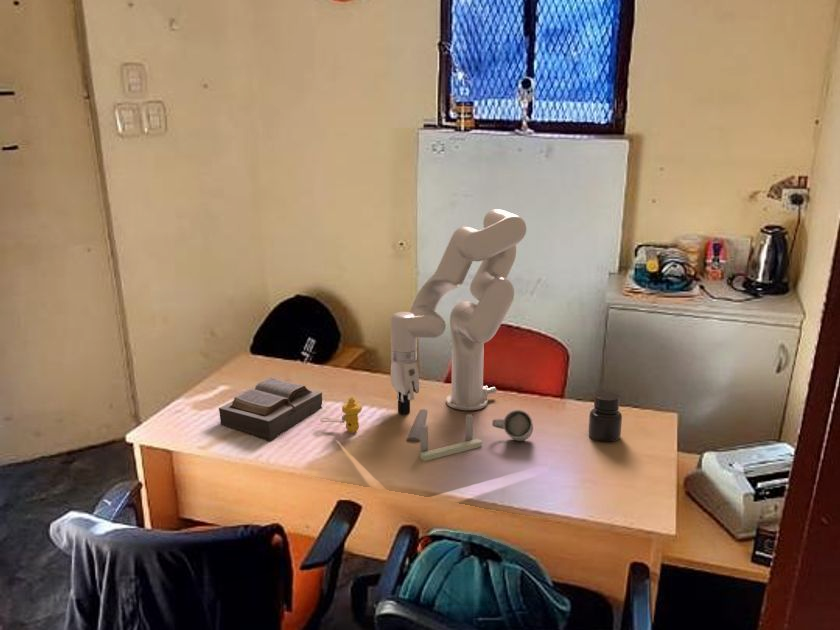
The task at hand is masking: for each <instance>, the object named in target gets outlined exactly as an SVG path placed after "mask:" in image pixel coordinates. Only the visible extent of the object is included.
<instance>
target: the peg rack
mask: <svg viewBox="0 0 840 630" xmlns="http://www.w3.org/2000/svg"><path fill="white" fill-rule="evenodd" d="M464 427H465V437H464V439H465V441H463V442H459V443H456V444H451V445H447V446H443V447H439V448H435V449H431V450H429V426H428V425H426V424H425V425H421V426H420V441H419V444H420V454H419V457H420V460H422V461H423V462H426V461H430V460H434V459H438V458H442V457H446V456H449V455H454V454H457V453H462V452H465V451H469V450H474V449H477V448H482V447H483V441H482V440H480V439H479V438H475V439H473V435H474V434H473V431H474V428H473V427H474V415H472V414H466V415H465V426H464Z"/></svg>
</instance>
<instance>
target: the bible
mask: <svg viewBox="0 0 840 630" xmlns="http://www.w3.org/2000/svg"><path fill="white" fill-rule="evenodd" d="M322 405H323V392H322V391H319V390H318V391H317V390H313V389H308V388H307V387H306V385H304V384H298V383H292V382H290V381H286V380H282V379H279V378H276V377H273V376H269V377H268V378H266V379H264V380H261V381H259V382H258V383H257V384H256V385H255V387H254V389H253V388H252V389H251V388H250V389H248V390H246V391H244V392H243V393H241V394H239V395H237V396H235V397H234V398H233V400H232V401H230V402H228V403H226V404H224V405H222V406H220V407H218V411H219V419H220V421H219V422H220V426H222V427H226V428H229V429H231V430H235V431H237V432H240V433H243V434H246V435H248V436H252V437H255V438H258V439H261V440H264V441H266V442H270V443H271V442H273V441H274V440H276V439H277V438H278V437H279V436H281V435H282V434H283V432H284V433H286V432H287V431H289V430H290V429H292V428H294V427H295V426H297V425H299V423H301V422H302V421H304V420H305V419H307V418H308V417H311V416H312V415H314V414H315V413H317V411H319V410H320V409H321V410H322V409H323V406H322ZM296 424H297V425H296ZM285 431H286V432H285ZM281 433H282V434H281ZM280 434H281V435H280ZM278 435H279V436H278ZM275 438H276V439H275Z"/></svg>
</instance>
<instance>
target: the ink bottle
mask: <svg viewBox="0 0 840 630" xmlns="http://www.w3.org/2000/svg"><path fill="white" fill-rule="evenodd" d="M620 399H621V397H620V395H619V394H618V393H616V392H614V391H609V390H608V391H607V390H603V391H602V390H601V391H597V392H596V393H594V402H593V408H592V409H591V410H590V411H589V417H588V418H589V419H588V429H587V430H588V435H589V436H590V437H591V438H592V439H594V440H597V441H603V442H614V441H617V440H619V439H620V438H621V436H622V435H621V433H622V425H623V424H622V423H623V415H622V413H621V412H620V410H619V409H620Z"/></svg>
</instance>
